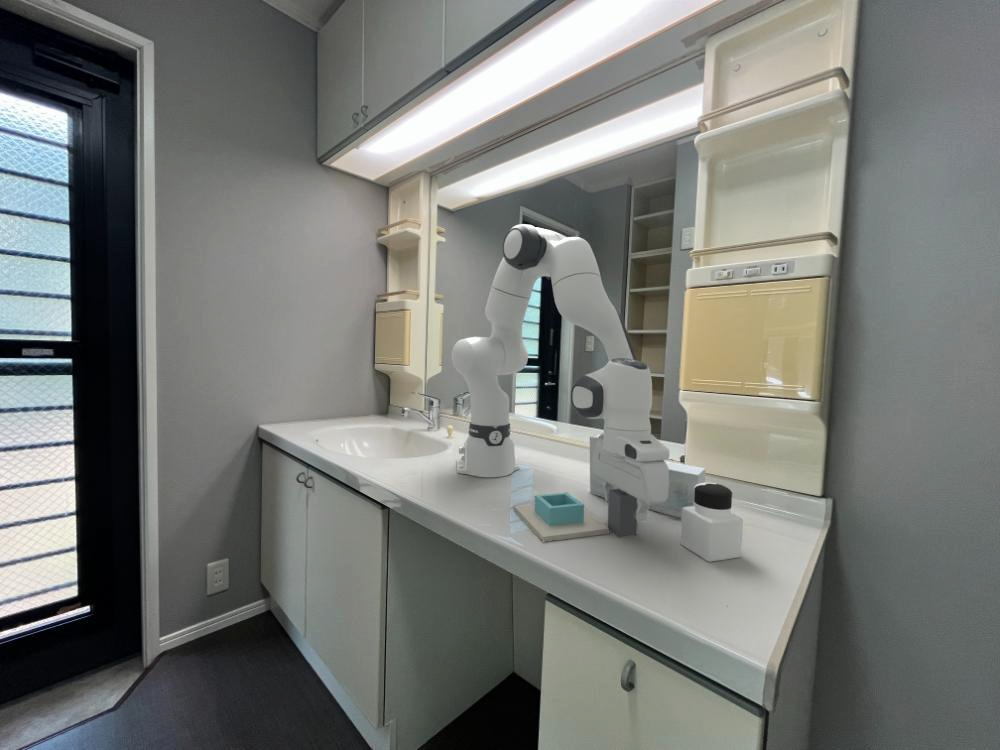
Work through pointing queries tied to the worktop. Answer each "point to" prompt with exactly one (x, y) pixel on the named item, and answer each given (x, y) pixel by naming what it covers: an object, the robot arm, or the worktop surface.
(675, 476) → the skincare box
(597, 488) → the skincare box
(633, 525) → the block
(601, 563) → the worktop surface
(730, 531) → the medicine bottle
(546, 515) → the plate
